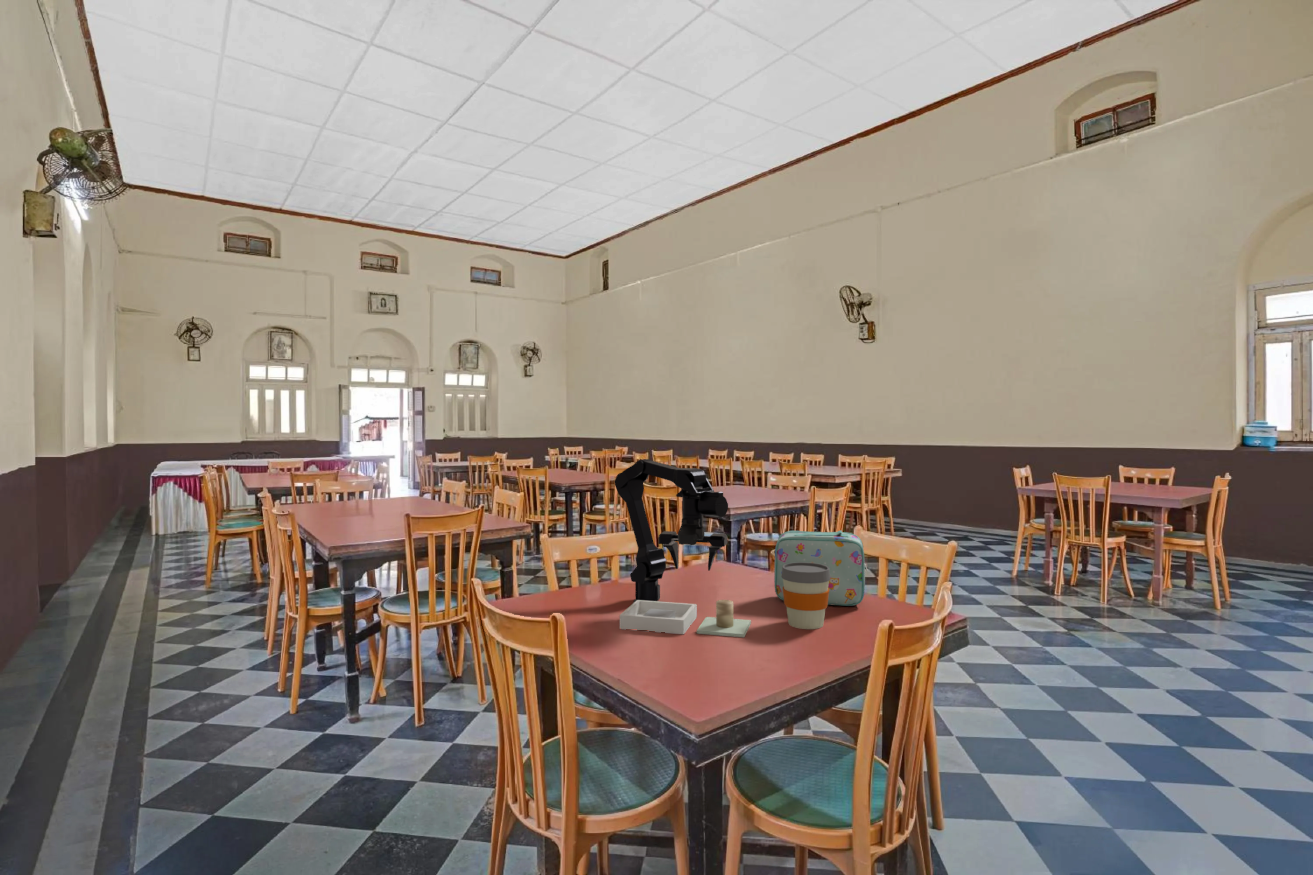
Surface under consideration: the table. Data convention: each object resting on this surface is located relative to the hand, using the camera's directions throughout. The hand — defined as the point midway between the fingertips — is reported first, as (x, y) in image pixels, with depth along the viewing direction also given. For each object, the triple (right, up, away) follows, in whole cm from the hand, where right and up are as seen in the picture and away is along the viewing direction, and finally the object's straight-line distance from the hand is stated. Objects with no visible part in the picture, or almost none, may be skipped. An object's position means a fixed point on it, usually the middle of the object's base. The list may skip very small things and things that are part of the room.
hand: (693, 569), depth 185 cm
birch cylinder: (+7, -12, -14) cm, 20 cm away
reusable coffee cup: (+29, -12, -11) cm, 33 cm away
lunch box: (+38, -12, +10) cm, 41 cm away
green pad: (+7, -12, -14) cm, 20 cm away
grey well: (-10, -12, -9) cm, 18 cm away
